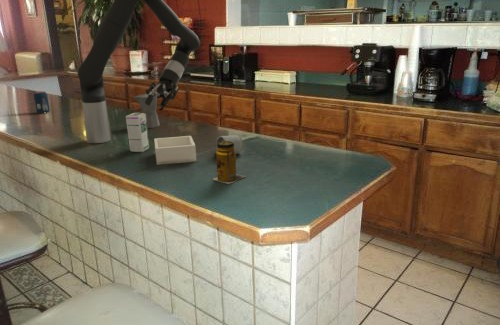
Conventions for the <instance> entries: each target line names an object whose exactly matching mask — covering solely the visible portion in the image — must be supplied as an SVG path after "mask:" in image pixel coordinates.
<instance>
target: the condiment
mask: <svg viewBox="0 0 500 325" xmlns="http://www.w3.org/2000/svg"><path fill="white" fill-rule="evenodd" d="M217 150H218V151H217ZM215 154H216V172H217V173H216V174H217V175H216V176H217V177H214V178H212V180H214V181H217V182H219V183H222V184H227V185H230V184H232V183H235V182H237V181H239V180H241V179H244V178H245V177H247V175H241V174H238V173H237V167H236V166H237V156H236V155H237V154H236V152H235V150H234V143H233V142H230V141H222V142H219V143H218V144H217V147H216V152H215Z"/></svg>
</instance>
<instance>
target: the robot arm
mask: <svg viewBox="0 0 500 325" xmlns="http://www.w3.org/2000/svg"><path fill="white" fill-rule="evenodd" d="M139 1H140V0H114V1H113V2H112V4H111V6H110V7H109V8H108V10H107V11H106V13H105V15H104V17H103V18H102V20H101V23H100V25H99V28H98V30H97V31H96V35H95V37H94V40H93V44H92V46H91V49H90V50H89V52H88V54H87V56H86V57H85V58H84V60H83V62H82V63H81V64H80V65H79V67H78V68H77V78H78V79H79V85H80V94H81V103H82V109H83V116H84V117H83V118H84V120H83V122H84V131H85V135H86V136H85V137H86V141H87V144H101V143H102V144H103V143H108V142H110V141H111V132H110V124H109V116H108V109H107V108H108V107H107V100H106V92H105V85H104V84H105V83H104V76H103V73H104V71H105V69H106V66H107V64H108V61H109V59H110V57H111V56H112V54H113V53H114V51H115V50H116V48H117V47H118V46H119V44H120V42H121V41H122V39H123V37H124V35H125V33H126V31H127V29H128V27H129V24H130V22H131V20H132V17H133V14H134V11H135V8H136V6H137V4H138V2H139ZM142 2H144V3H145V5H146V6H147V7H148V8H149V9H150V10H151V11H152V12H153V14H154V15H155V17H156V18H157V19H158V20H159V22H160V23H161V24H162V26H163V27H164V28H165V29H166V30H167V32H168V33H169V34H170V35H171V36H173V37H178V38H179V40H178V42H177V44H176V46H175V50H174V51H173V52H174V53H173V54H172V56H171V58H169V61H168V63H167V64H165V67H164V68H163V70H162V72H161V74H160V75H159V78H158V80H159V81H158V83H156V82H154V81H153V82H151V84H150V85H149V87H148V89H146V90H147V92H146V91H145V94H147V95H148V97H147V99H146V101H145V104H146V105H148V106H149V105H150V104H151V102H152V100H153V98H154V97H156V96H159V95H162V94H163V95H165V97H164V98H162V99H163V100H162V99H161V101H160V104H159V106H160V108H161V107H162V108H163V109H164V108H165V107H166V106H167V104H168V102H169V101H170V100H172V101H173V100H175V99H176V96H177V94H178V92H179V90H180V88H179V86H178V83H179V81H180V80H181V78H182V76H183V73H184V72H185V69H186V67H187V66H188V64H189V61H190V57H189V56H190V54H191V53H193V52H195V51H197V50H198V49H199V48H200V45H201V41H200V39H199V36H198V35H197V33H195V31H193V30H192V29H190V28H189V27H188V26H187V25H185V24H184V22H183V21H182V20H181V19H180V17H179V16H178V15H177V13H175V11H173V9H172V8H171V7H170V6H169V5H168V4H167V3H166V2H165V1H164V0H142ZM153 94H154V95H153Z"/></svg>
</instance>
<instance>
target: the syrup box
mask: <svg viewBox="0 0 500 325" xmlns="http://www.w3.org/2000/svg"><path fill="white" fill-rule="evenodd" d="M125 120H126V122H125V123H126V128H127V129H126V130H127V137H128V142H129V143H128V144H129V151H130V152H134V153H135V152H136V153H144V152H145V151H146V150H148V149H150V140H149V130H148V128H147V122H146V114H145V113H142V112H133V113H130V114H128V115H126V116H125Z"/></svg>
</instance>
